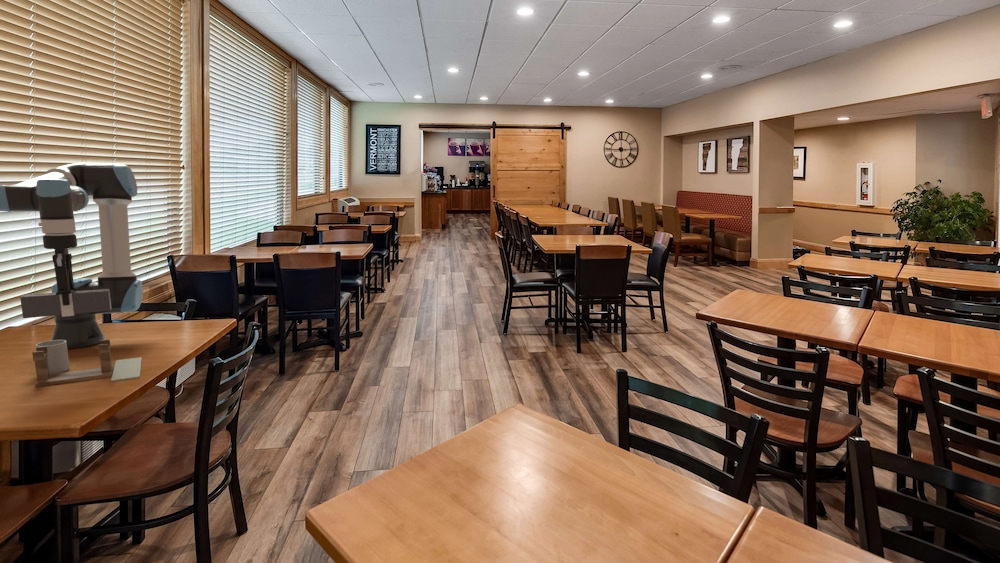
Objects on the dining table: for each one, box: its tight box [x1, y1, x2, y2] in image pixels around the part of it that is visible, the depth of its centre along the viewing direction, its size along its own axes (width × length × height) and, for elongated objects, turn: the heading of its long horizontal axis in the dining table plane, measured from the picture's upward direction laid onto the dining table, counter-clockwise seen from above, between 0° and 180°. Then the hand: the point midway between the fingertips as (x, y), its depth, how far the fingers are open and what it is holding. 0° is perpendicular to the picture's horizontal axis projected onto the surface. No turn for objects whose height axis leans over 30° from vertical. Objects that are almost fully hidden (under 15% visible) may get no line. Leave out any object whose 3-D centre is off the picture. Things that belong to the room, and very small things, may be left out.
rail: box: [19, 289, 111, 319], centre depth 159 cm, size 4×20×6 cm, turn 122°
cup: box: [35, 339, 70, 374], centre depth 168 cm, size 7×10×9 cm
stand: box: [31, 338, 114, 388], centre depth 162 cm, size 8×18×10 cm, turn 122°
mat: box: [110, 356, 143, 382], centre depth 171 cm, size 22×7×1 cm, turn 32°
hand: (69, 314), depth 160 cm, fingers closed on rail, 4 cm apart
